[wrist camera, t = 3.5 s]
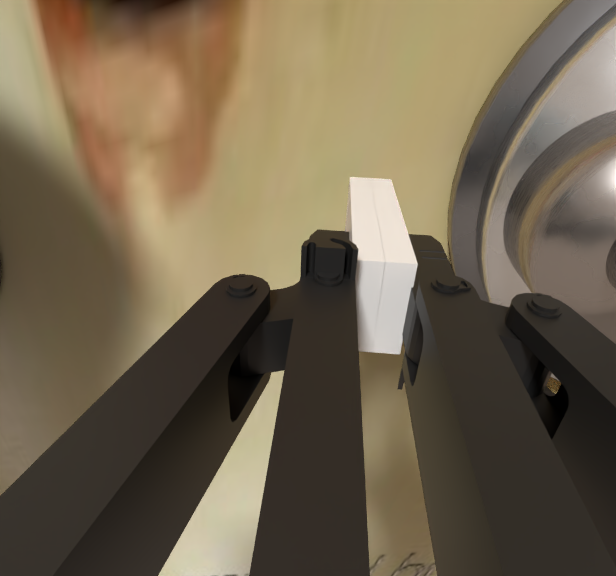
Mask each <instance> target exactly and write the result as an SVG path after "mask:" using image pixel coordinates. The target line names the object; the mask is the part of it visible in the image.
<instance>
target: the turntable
mask: <svg viewBox="0 0 616 576" xmlns="http://www.w3.org/2000/svg"><path fill="white" fill-rule="evenodd" d="M614 110H616V4H615V5H613V6H612V7H611V8H610V9H609V10H608V11H607V12H606V13H604V14H603V15H602V16H601V17H600V18H599V19H598V20H597V21H595V22H594V23H593V24H592V25H591V26H590V27H589V28H588V29H586V30H585V31H584V32H583V33H582V34H581V35H580V36H579V37H578V39H577V40H576V41H575V42H574V43H573V44H572V45H571V46H570V47H569V48H568V49H567V50H566V51H565V53H564V54H563V55H562V56H561V57H560V58H559V59H558V60H557V61H556V62H555V63H554V64H553V65H552V67H551V68H550V69H549V71H548V72H547V73H546V75H545V76H544V77H543V79H542V80H541V81H540V82H539V84H538V85H537V86H536V88H535V89H534V90H533V92H532V93H531V94H530V96H529V97H528V98H527V100H526V101H525V103H524V105H523V106H522V108H521V110H520V111H519V113H518V114H517V116H516V118H515V119H514V121H513V123H512V124H511V126H510V128H509V129H508V131H507V133H506V135H505V137H504V139H503V141H502V143H501V145H500V148H499V150H498V152H497V154H496V156H495V158H494V160H493V163H492V165H491V168H490V171H489V174H488V177H487V180H486V183H485V187H484V190H483V193H482V197H481V203H480V208H479V213H478V218H477V231H476V254H477V263H478V271H479V275H480V278H481V282H482V286H483V289H484V292H485V294H486V297H487V299H488V301H489V303H493V304H497V305H502V306H506V307H510V304H511V301H512V298H514V297H515V296H516V295H517V294H522V293H531V291H530V290H529V288H528V287H527V286H526V284H525V283H524V281H523V280H522V279H521V277H520V276H519V275H518V273H517V272H516V270H515V269H514V267H513V266H512V264H511V263H510V260H509V258H508V256H507V253H506V249H505V245H504V236H503V228H504V218H505V214H506V209H507V206H508V203H509V201H510V198H511V195H512V193H513V191H514V189H515V187H516V185H517V184H518V182H519V180H520V179H521V177H522V176H523V174H524V173H525V171H526V170H527V169H528V167H529V166H530V165H531V164H532V163H533V161H534V160H535V159H536V158H537V157H538V156H539V155H540V154H541V153H542V152H543V151H544V150H545V149H546V148H547V147H548V146H549V145H551V144H552V143H553V142H554V141H556V140H557V139H558V138H559V137H561V136H562V135H564V134H565V133H567V132H568V131H570V130H571V129H573V128H574V127H576V126H578V125H580V124H582V123H584V122H586V121H588V120H590V119H592V118H594V117H597V116H599V115H602V114H605V113H607V112H611V111H614ZM550 377H552V378H554V379H556V380H558V379H557V378H556V377H555V376H554V375H553V374H551V376H550ZM558 381H559V380H558Z"/></svg>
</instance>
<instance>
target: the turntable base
mask: <svg viewBox="0 0 616 576" xmlns="http://www.w3.org/2000/svg"><path fill="white" fill-rule="evenodd" d="M615 4H616V0H564V1H563V2H562V3H561V4H560V5H559V6H558V7H557V8H555V9H554V10H553V11H552V12H551V13H550V15H549V16H548V17H547V18H546V19H545V20H544V21H543V23H542V24H541V25H540V26H539V27H538V28H537V29H536V31H535V32H534V33H533V34H532V35H531V36H530V37H529V39H528V40H527V41H526V42H525V43H524V44H523V45H522V47H521V48H520V49H519V51H518V52H517V53H516V55H515V56H514V58H513V59H512V60H511V62H510V63H509V65H508V66H507V67H506V69H505V70H504V72H503V73H502V74H501V76H500V77H499V79H498V80H497V81H496V83H495V85H494V86H493V88H492V90H491V92H490V93H489V95H488V97H487V99H486V101H485V102H484V104H483V106H482V108H481V109H480V111H479V113H478V115H477V117H476V119H475V121H474V123H473V126H472V128H471V130H470V133H469V135H468V137H467V140H466V142H465V144H464V147H463V149H462V152H461V155H460V159H459V162H458V166H457V169H456V173H455V176H454V179H453V183H452V190H451V196H450V203H449V210H448V243H449V250H450V257H451V264H452V267H453V270H454V273H455V276H458V277H461V278H463V279H465V280H466V281H468V282H470V283H471V284H472V285H473V287H474V288H475V289H476V291H477V293H478V295H479V297H480V299H481V300H483V301H486V302H489V301H488V299H487V297H486V294H485V292H484V289H483V286H482V282H481V278H480V275H479V271H478V263H477V254H476V231H477V218H478V213H479V208H480V203H481V197H482V193H483V190H484V187H485V183H486V180H487V177H488V174H489V171H490V168H491V165H492V163H493V160H494V158H495V156H496V154H497V152H498V150H499V148H500V145H501V143H502V141H503V139H504V137H505V135H506V133H507V131H508V129H509V128H510V126H511V124H512V123H513V121H514V119H515V118H516V116H517V114H518V113H519V111H520V110H521V108H522V106H523V105H524V103H525V101H526V100H527V98H528V97H529V96H530V94H531V93H532V92H533V90H534V89H535V88H536V86H537V85H538V84H539V82H540V81H541V80H542V79H543V77H544V76H545V75H546V73H547V72H548V71H549V69H550V68H551V67H552V65H553V64H554V63H555V62H556V61H557V60H558V59H559V58H560V57H561V56H562V55H563V54H564V53H565V51H566V50H567V49H568V48H569V47H570V46H571V45H572V44H573V43H574V42H575V41H576V40H577V39H578V37H579V36H580V35H581V34H582V33H583V32H584V31H585V30H586V29H588V28H589V27H590V26H591V25H592V24H593V23H594V22H595V21H597V20H598V19H599V18H600V17H601V16H602V15H603V14H604V13H606V12H607V11H608V10H609V9H610V8H611V7H612V6H613V5H615Z"/></svg>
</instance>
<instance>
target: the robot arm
mask: <svg viewBox="0 0 616 576" xmlns="http://www.w3.org/2000/svg"><path fill="white" fill-rule="evenodd" d="M0 284H1V262H0ZM403 341H404V346H405V354H404V359H403V364H402V369H401V373H400V378H399V383H398V389H402V387H403V383H404V382H405V387H406V392H407V398H408V404H409V410H410V416H411V422H412V428H413V434H414V440H415V446H416V452H417V458H418V464H419V469H420V475H421V481H422V487H423V493H424V499H425V505H426V511H427V517H428V523H429V529H430V535H431V540H432V546H433V552H434V558H435V564H436V570H437V576H616V344H615V343H614V342H612V341H611V340H610V339H609V338H607V337H606V336H605V335H604V334H603V333H601V332H600V331H599V330H598V329H596V328H595V327H594V326H593V325H592V324H590V323H589V322H588V321H587V320H585V319H584V318H583V317H582V316H581V315H579V314H578V313H577V312H576V311H574V310H573V309H572V308H571V307H569V306H568V305H566V304H565V303H563V302H562V301H560V300H557V299H555V298H552V297H551V296H549V295H545V294H544V295H542V294H541V293H522V294H517V295H516V296H515V297H514V298H512V301H511V304H510V307H506V306H502V305H497V304H493V303H489V302H486V301H483V300H481V299H480V297H479V295H478V293H477V291H476V289H475V288H474V287H473V285H472V284H471V283H470V282H468V281H466V280H465V279H463V278H461V277H458V276H455V273H454V271H453V269H452V267H451V265H450V262H449V260H447V256H446V254H445V253H444V249H443V247H442V245H441V243H440V242H438V241H437V240H436V239H434V238H433V237H432V236H428V235H413V234H408V232H407V228H406V225H405V222H404V219H403V216H402V213H401V210H400V206H399V203H398V200H397V197H396V194H395V191H394V187H393V184H392V181H391V179H376V178H359V177H350V182H349V193H348V204H347V215H346V226H345V231H331V230H317V231H316V232H314V233H313V234H312V235H311V236H310V239H308V240H307V241H305V242H304V243H303V245H302V250H301V278H300V281H299V282H298V283H297V284H295V285H293V286H290V287H287V288H283V289H277V290H270V287H269V285H268V283H267V282H266V281H265V280H263V279H262V278H259V277H256V276H253V275H245V274H239V275H232V276H229V277H226V278H223V279H221V280H220V281H218V282H217V283H215V284H214V285H213V286H212V287H211V288H210V289H209V290H208V291H207V292H206V293H205V294H204V295H203V296H202V297H201V298H200V299H199V300H198V301H197V302H196V303H195V304H194V305H193V306H192V307H191V308H190V309H189V310H188V311H187V312H186V313H185V314H184V315H183V316H182V317H181V318H180V319H179V320H178V321H177V322H176V323H175V324H174V325H173V326H172V327H171V328H170V329H169V330H168V331H167V332H166V333H165V334H164V335H163V336H162V337H161V338H160V339H159V340H158V341H157V342H156V343H155V344H154V345H153V346H152V347H151V348H150V349H149V350H148V351H147V352H146V353H145V354H144V355H143V356H142V357H140V358H139V359H138V360H137V361H136V362H135V363H134V364H133V365H132V366H131V367H130V368H129V369H128V370H127V371H126V372H125V373H124V374H123V375H122V376H121V377H120V378H119V379H118V380H117V381H116V382H115V383H114V384H113V385H112V386H111V387H110V388H109V389H108V390H107V391H106V392H105V393H104V394H103V395H102V396H101V397H100V398H99V399H98V400H97V401H96V402H95V403H94V404H93V405H92V406H91V407H90V408H89V409H88V410H87V411H86V412H85V413H84V414H83V415H82V416H81V417H80V418H79V419H78V420H77V421H76V422H75V423H74V424H73V425H72V426H71V427H70V428H69V429H68V430H67V431H66V432H65V433H64V434H63V435H62V436H61V437H60V438H59V439H58V440H57V441H56V442H55V443H54V444H53V445H51V446H50V447H49V448H48V449H47V450H46V451H45V452H44V453H43V454H42V455H41V456H40V457H39V458H38V459H37V460H36V461H35V462H34V463H33V464H32V465H31V466H30V467H29V468H28V469H27V470H26V471H25V472H24V473H23V474H22V475H21V476H20V477H19V478H18V479H17V480H16V481H15V482H14V483H13V484H12V485H11V486H10V487H9V488H8V489H7V490H6V491H5V492H4V493H3V494H2V495H1V496H0V576H158V575H159V573H160V571H161V569H162V568H163V566H164V564H165V562H166V561H167V559H168V557H169V555H170V554H171V552H172V550H173V548H174V546H175V545H176V543H177V541H178V539H179V538H180V536H181V534H182V532H183V531H184V529H185V527H186V525H187V524H188V522H189V520H190V518H191V517H192V515H193V513H194V511H195V510H196V508H197V506H198V504H199V503H200V501H201V499H202V497H203V496H204V494H205V492H206V490H207V489H208V487H209V485H210V483H211V482H212V480H213V478H214V476H215V475H216V473H217V471H218V469H219V468H220V466H221V464H222V462H223V460H224V459H225V457H226V455H227V453H228V452H229V450H230V448H231V446H232V445H233V443H234V441H235V439H236V438H237V436H238V434H239V432H240V431H241V429H242V427H243V425H244V424H245V422H246V420H247V418H248V417H249V415H250V413H251V411H252V410H253V408H254V406H255V404H256V403H257V401H258V399H259V397H260V396H261V394H262V392H263V390H264V389H265V387H266V385H267V383H268V381H269V379H270V375H271V372H276V371H282V370H285V371H284V377H283V382H282V388H281V394H280V400H279V406H278V412H277V417H276V423H275V429H274V435H273V441H272V446H271V452H270V458H269V464H268V470H267V476H266V481H265V487H264V493H263V499H262V505H261V511H260V516H259V522H258V528H257V534H256V540H255V546H254V551H253V557H252V563H251V569H250V575H249V576H370V572H369V551H368V531H367V511H366V491H365V471H364V450H363V430H362V410H361V390H360V370H359V351H361V352H375V353H388V354H400V352H401V347H402V342H403ZM551 374H553V375H554V376H555V377H556V378H557V379H558V380H559V381H560V382H561V383H562V384H561V386H560V388H559V390H558V392H557V393H556V394H554V393H553V392H552V391H551V390H550V389H549V388H548V387H547V386H546V385H547V383H548V381H549V378H550V376H551Z"/></svg>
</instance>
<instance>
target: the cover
mask: <svg viewBox="0 0 616 576" xmlns="http://www.w3.org/2000/svg"><path fill="white" fill-rule="evenodd" d="M503 236H504V245H505V249H506V253H507V256H508V258H509V260H510V263H511V264H512V266H513V267H514V269H515V270H516V272H517V273H518V275H519V276H520V277H521V279H522V280H523V281H524V283H525V284H526V286H527V287H528V288H529V290H530V291H531V293H541V294H542V295H544V294H545V295H549V296H551V297H552V298H555V299H557V300H560V301H562V302H563V303H565V304H566V305H568V306H569V307H571V308H572V309H573V310H574V311H576V312H577V313H578V314H579V315H581V316H582V317H583V318H584V319H585V320H587V321H588V322H589V323H590V324H592V325H593V326H594V327H595V328H596V329H598V330H599V331H600V332H601V333H603V334H604V335H605V336H606V337H607V338H609V339H610V340H611V341H612V342H614V343H615V344H616V110H614V111H611V112H607V113H605V114H602V115H599V116H597V117H594V118H592V119H590V120H588V121H586V122H584V123H582V124H580V125H578V126H576V127H574V128H573V129H571V130H570V131H568V132H567V133H565V134H564V135H562V136H561V137H559V138H558V139H557V140H556V141H554V142H553V143H552V144H551V145H549V146H548V147H547V148H546V149H545V150H544V151H543V152H542V153H541V154H540V155H539V156H538V157H537V158H536V159H535V160H534V161H533V163H532V164H531V165H530V166H529V167H528V169H527V170H526V171H525V173H524V174H523V176H522V177H521V179H520V180H519V182H518V184H517V185H516V187H515V189H514V191H513V193H512V195H511V198H510V201H509V203H508V206H507V209H506V214H505V218H504V228H503Z"/></svg>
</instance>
